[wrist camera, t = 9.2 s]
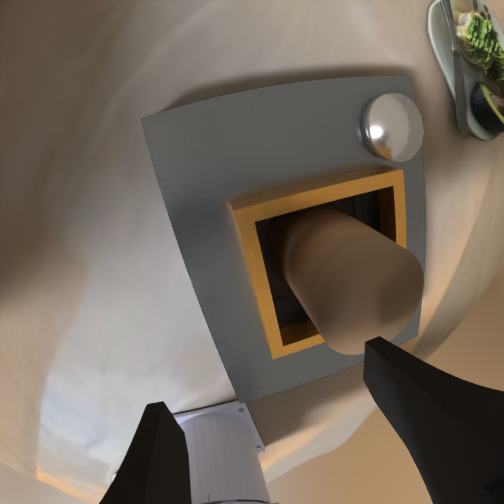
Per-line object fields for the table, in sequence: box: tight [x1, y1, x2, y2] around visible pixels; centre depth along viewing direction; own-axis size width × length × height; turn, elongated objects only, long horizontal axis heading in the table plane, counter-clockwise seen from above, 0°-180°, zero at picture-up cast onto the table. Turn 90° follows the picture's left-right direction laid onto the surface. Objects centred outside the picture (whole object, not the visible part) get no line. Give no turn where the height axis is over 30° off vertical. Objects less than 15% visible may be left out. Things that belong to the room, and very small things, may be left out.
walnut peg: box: [268, 203, 424, 355], centre depth 15 cm, size 5×5×8 cm
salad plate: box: [427, 0, 504, 141], centre depth 14 cm, size 15×14×4 cm
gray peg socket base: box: [141, 76, 426, 404], centre depth 16 cm, size 18×14×4 cm
